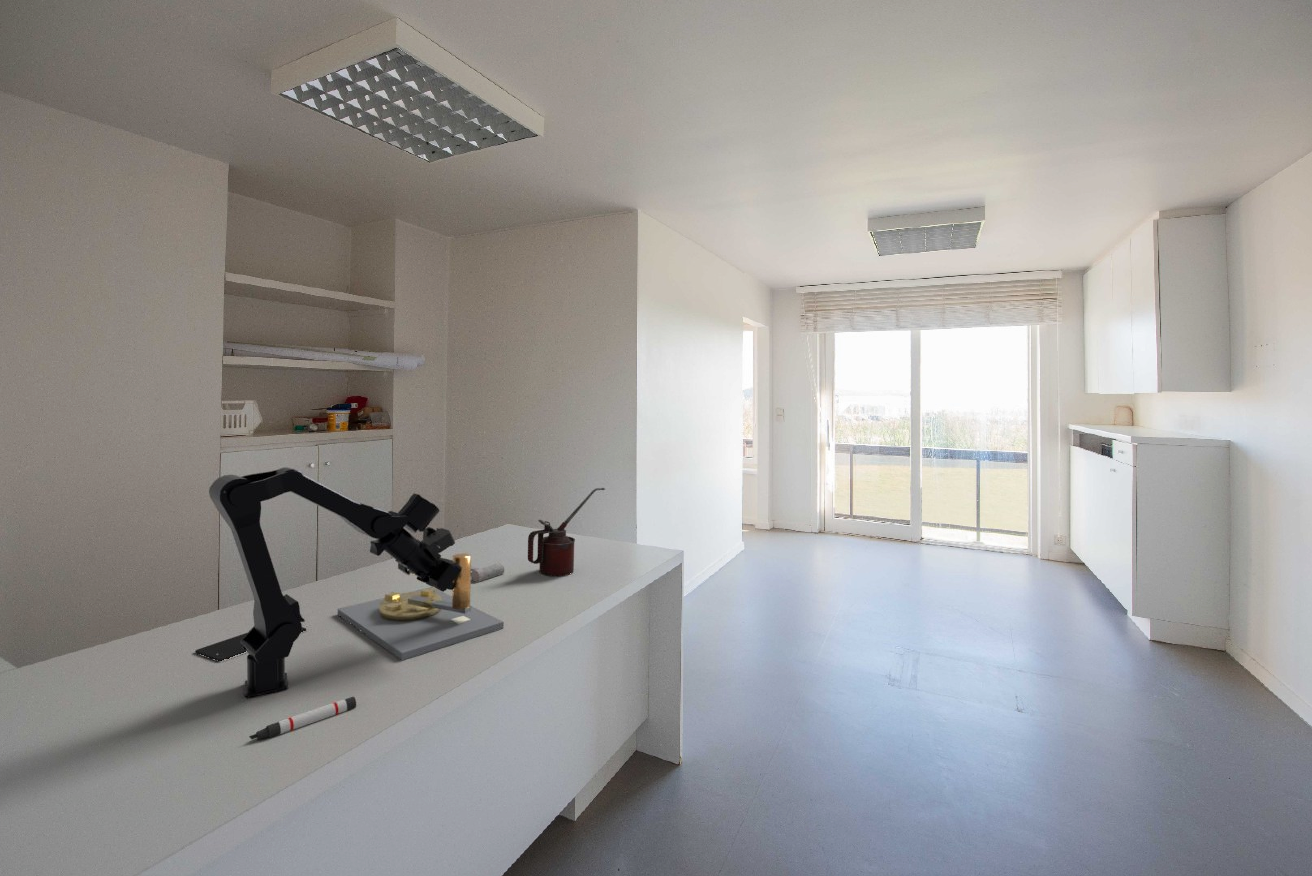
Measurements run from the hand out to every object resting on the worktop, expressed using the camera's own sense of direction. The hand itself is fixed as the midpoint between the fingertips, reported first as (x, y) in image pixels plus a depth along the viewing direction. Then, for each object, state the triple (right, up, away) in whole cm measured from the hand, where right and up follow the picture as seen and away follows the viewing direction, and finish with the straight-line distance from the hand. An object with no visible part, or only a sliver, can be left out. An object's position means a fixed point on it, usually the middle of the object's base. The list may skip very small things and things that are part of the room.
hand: (453, 587), depth 134 cm
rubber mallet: (-15, -7, +46) cm, 49 cm away
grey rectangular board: (-10, -9, +5) cm, 14 cm away
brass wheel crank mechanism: (-8, -7, +6) cm, 12 cm away
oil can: (+19, -7, +50) cm, 54 cm away
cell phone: (-40, -10, -9) cm, 42 cm away
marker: (-11, -13, -39) cm, 42 cm away
